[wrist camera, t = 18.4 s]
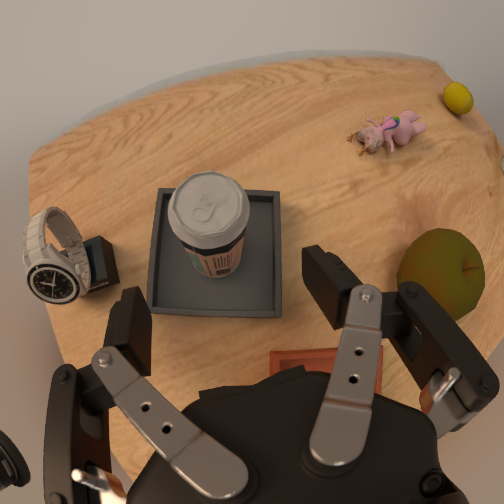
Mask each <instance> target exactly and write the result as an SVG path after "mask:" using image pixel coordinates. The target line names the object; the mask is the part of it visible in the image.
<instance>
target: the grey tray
mask: <svg viewBox="0 0 504 504" xmlns="http://www.w3.org/2000/svg"><path fill="white" fill-rule="evenodd" d="M175 190H176V188H159V189H158V194H157V201H156V208H155V215H154V222H153V230H152V239H151V248H150V258H149V270H148V283H147V300H146V303H147V305H148V308H149V310H150V312H151V313H156V314H170V315H187V316H208V317H246V318H279V317H282V268H281V218H280V192H279V191H263V190H244V191H245V193H246V194H247V197H248V200H249V204H250V214H249V219H248V222H247V225H246V230H245V236H244V241H243V246H242V252H241V260H240V263H239V264H238V266H237V268H236V269H235V270H234V271H233V272H232V273H230V274H229V275H227V276H224V277H220V278H211V277H208V276H205V275H203V274H202V273H200V272H199V271H198V270H197V269H196V268H195V266H194V264H193V262H192V260H191V258H190V256H189V255H188V253H187V251H186V250H185V248H184V246H183V244H182V243H181V241H180V239H179V238H178V237H177V235H176V234H175V233H174V232H173V230H172V228H171V225H170V223H169V219H168V206H169V201H170V199H171V197H172V194H173V192H174V191H175Z"/></svg>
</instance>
